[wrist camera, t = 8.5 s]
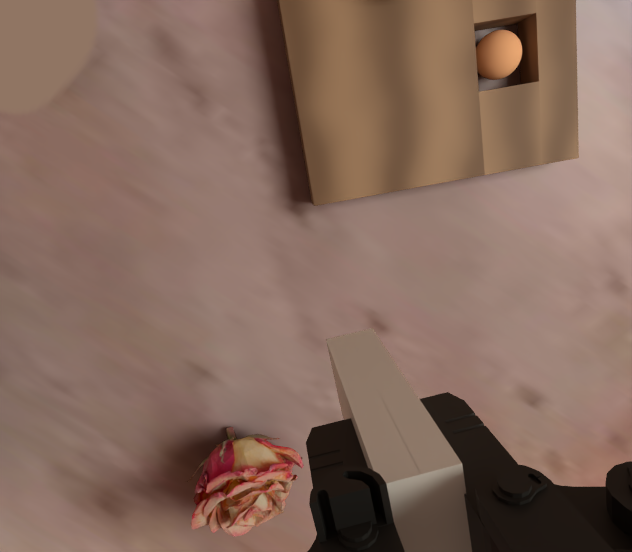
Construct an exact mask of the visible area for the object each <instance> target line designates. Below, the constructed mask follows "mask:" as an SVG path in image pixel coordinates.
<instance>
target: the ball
mask: <svg viewBox="0 0 632 552" xmlns="http://www.w3.org/2000/svg"><path fill="white" fill-rule="evenodd" d="M521 57H522V45H521V42H520V40H519V38H518V37H517V36H516V35H515V34H514V33H512V32H510V31H508V30H496V31H493V32H491V33H489V34H487V35H486V36H485V37H484V38H482V40H481V41H480V42H479V44H478V45H477V47H476V60H477V71H478V73H479V74H480V75H481V76H483V77H484V78H487V79H491V80H497V79H502V78H504V77H506V76H508V75H509V74H511V73H512V72H513V71H514V70H515V69H516V68H517V66H518V64H519V63H520V60H521Z"/></svg>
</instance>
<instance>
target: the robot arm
mask: <svg viewBox="0 0 632 552" xmlns="http://www.w3.org/2000/svg"><path fill="white" fill-rule="evenodd" d="M326 341H327V346H328V351H329V355H330V360H331V365H332V369H333V374H334V378H335V383H336V388H337V392H338V397H339V401H340V406H341V411H342V415H343V418H344V420H342V421H338V422H334V423H330V424H326V425H322V426H318V427H314V428H312V430H311V432H310V434H309V437H308V439H307V441H306V446H307V452H308V458H309V464H310V470H311V477H312V483H313V489H312V491H311V494H310V503H309V504H310V508H311V512H312V516H313V519H314V523H315V527H316V531H317V536H316V539H315V541H314V543H313V545H312V547H311V548H310V549H309V551H308V552H632V462H625V463H622V464H619V465H616V466H614V467H613V468H612V469H611V470H610V471H609V472H608V473H607V477H606V487H570V486H559V485H555V484H553V483H552V481H551V480H550V479H548V478H547V477H546V476H544V475H543V474H542V473H541V472H539V471H537V470H534V469H532V468H530V467H527V466H524V465H518V464H517V462H516V461H515V460H514V459H513V458H512V457H511V455H510V454H509V453H508V452H507V451H506V449H505V448H504V447H503V446H502V445H501V444H500V442H499V441H498V440H497V439H496V438H495V436H494V435H493V434H492V433H491V432H490V431H489V429H488V428H487V427H486V426H484V424H483V422H482V421H481V420H480V419H479V418H478V416H476V415H475V413H474V412H473V410H472V409H471V408H470V407H469V406H468V405H467V403H466V402H465V401H464V400H462V399H460V398H458V397H456V396H454V395H452V394H450V393H448V392H447V393H443V394H439V395H435V396H431V397H427V398H423V399H419V398H418V396H417V395H416V393H415V392H414V390H413V389H412V387H411V386H410V384H409V383H408V381H407V380H406V378H405V377H404V375H403V374H402V372H401V371H400V369H399V368H398V366H397V365H396V363H395V362H394V360H393V359H392V357H391V356H390V354H389V353H388V351H387V349H386V348H385V346H384V345H383V343H382V342H381V340H380V339H379V337H378V336H377V334H376V333H375V331H374V330H373V328H371V329H367V330H363V331H359V332H355V333H351V334H347V335H342V336H338V337H334V338H330V339H326Z"/></svg>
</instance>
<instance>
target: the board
mask: <svg viewBox="0 0 632 552" xmlns="http://www.w3.org/2000/svg"><path fill="white" fill-rule="evenodd" d="M277 4H278V10H279V15H280V21H281V27H282V33H283V39H284V44H285V50H286V56H287V62H288V68H289V73H290V79H291V85H292V91H293V96H294V102H295V108H296V114H297V120H298V125H299V131H300V137H301V143H302V149H303V154H304V160H305V166H306V172H307V178H308V183H309V189H310V195H311V201H312V204H313V205H314V206H317V205H322V204H328V203H333V202H339V201H344V200H350V199H355V198H361V197H366V196H372V195H377V194H383V193H388V192H394V191H399V190H405V189H410V188H416V187H421V186H427V185H432V184H438V183H443V182H449V181H454V180H460V179H465V178H471V177H476V176H482V175H487V174H493V173H498V172H504V171H509V170H515V169H520V168H526V167H531V166H537V165H542V164H548V163H553V162H559V161H564V160H570V159H575V158H579V153H578V99H577V45H576V0H277ZM513 24H518V38H519V40H520V42H521V45H522V57H521V60H520V84H521V85H515V86H509V87H504V88H498V89H492V90H487V91H481V92H479V87H478V73H477V60H476V46H475V32H474V31H477V30H483V29H489V28H495V27H501V26H507V25H513Z"/></svg>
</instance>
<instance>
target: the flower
mask: <svg viewBox="0 0 632 552" xmlns="http://www.w3.org/2000/svg"><path fill="white" fill-rule="evenodd" d="M226 434H227V438H228V440H225V441H224V442H222V443H221V444H218V445H216V446H217V447H216V448H215V449H214V450H213V451H212V452H211V453H210V455H209V456H208V457H207V458H206V459H205V460H204V461H203V462H202V463H201V464H200V466H199V467H198V468H197V470H196V471H195V473H196V472H197V471H198V470H199V469H200V467H201V466H202V465H203V464H204V465H203V472H202V474H201V476H200V478H199V480H198V482H197V485H196V488H195V493H197V494H196V495H195V497H194V502H195V503H196V505H197V506H196V509H195V511H194V513H193V515H192V522H191V526H192V529H197V528H199V527H201V526H204V525H209V527H210V529H211V531H212V532H213V533H215V532H216V531H217V530H218V529H219V528H221V527H222V529H223V530H224V531H225V532H226V533H228V534H230V535H232V536H234V537H235V536H239V535H243V534H245V533H247V532H248V531H249V530H250V529H251V528H252V526H255V525H256V526H257V527H258V526H259V525H260V524H261V523H264V522H266V521H267V520H269V519H271V518H273V517H275V516H276V515H278V514H280V513H283V512H284V511H283V510H282V509H283V508H284V507H285V505H286V503H285V499H286V498H287V497H288V495H289V491H290V488H291V485H292V483H293V481H294V480H296V479H297V477H298V476H297V475H293V474H292V473H291V472H292V468H293V466H294V465H298V466H299V467H301V468H303V466H304V465H303V463H302V460H301V459H302V457H301V458H300V456H299V454H298V453H297V452H296V451H295V450H293V449H291V448H288V447H281V446H275V445H272V444H271V443H270V442H268V441H266V440H267V439H272V438H270V437H267V436H264V435H261V434H256V435H248V436H247V437H245V438H242V439H238V440H237V438H236V435H235V432H234V430H233V427H229V428H226ZM273 439H281V438H273ZM195 473H194V474H195ZM194 474H193V476H194ZM193 476H192V477H193ZM192 477H191V479H192ZM295 478H296V479H295ZM191 479H190V480H191ZM190 480H189V481H190ZM187 482H188V481H187Z"/></svg>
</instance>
